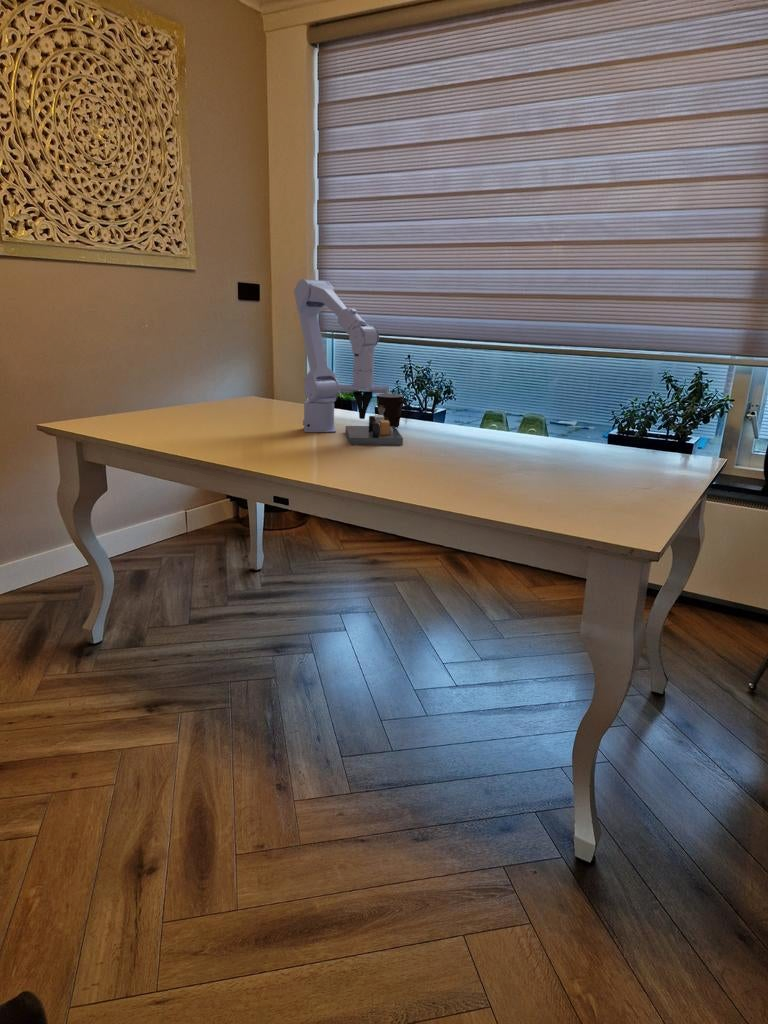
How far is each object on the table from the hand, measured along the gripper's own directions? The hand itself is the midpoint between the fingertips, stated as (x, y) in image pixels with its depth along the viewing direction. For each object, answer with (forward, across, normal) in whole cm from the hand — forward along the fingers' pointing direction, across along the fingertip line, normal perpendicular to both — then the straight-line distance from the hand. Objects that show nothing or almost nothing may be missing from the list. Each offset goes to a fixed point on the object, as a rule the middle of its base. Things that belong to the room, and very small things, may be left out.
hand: (362, 418), depth 190 cm
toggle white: (+4, +6, +9) cm, 12 cm away
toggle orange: (+4, +7, 0) cm, 8 cm away
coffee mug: (+7, +11, +20) cm, 24 cm away
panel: (+6, +4, +2) cm, 8 cm away
